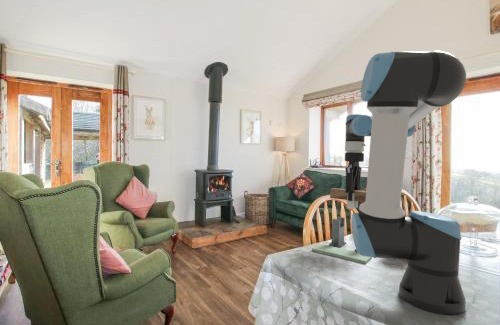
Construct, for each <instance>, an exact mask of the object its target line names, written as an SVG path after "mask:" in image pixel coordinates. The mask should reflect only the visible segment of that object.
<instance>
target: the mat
mask: <svg viewBox="0 0 500 325" xmlns="http://www.w3.org/2000/svg"><path fill="white" fill-rule="evenodd" d="M311 251H312V252H316V253H319V254H325V255H327V256H331V257H337V258H340V259H345V260H348V261H353V262H357V263H360V264H365V265H367V263H369V262H370V261H371V260H372V259H373V257H368V256H362V255H360V254H359V253H358V252H356V251H355V250H350V249H346V248H343V247H341V248H339V247H334V246H330V245H327V244H323V243H319V244H317V245H316V246H314V247H312V248H311Z"/></svg>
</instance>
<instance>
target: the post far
mask: <svg viewBox="0 0 500 325" xmlns="http://www.w3.org/2000/svg"><path fill="white" fill-rule="evenodd" d="M345 221H346V217H344V216H343V217H342V216H337V218H332V222H331V223H332V224H331V225H332V227H331V242H329V245H328V246H333V247H334V246H335V247H337V248H339V247H340V248H343V247H345V246H346V245H347V242H346V241H345V229H346V228H345V226H346V225H345V224H346V222H345ZM345 244H346V245H345ZM342 246H343V247H342Z"/></svg>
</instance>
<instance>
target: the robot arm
mask: <svg viewBox="0 0 500 325" xmlns="http://www.w3.org/2000/svg"><path fill="white" fill-rule="evenodd" d="M466 81H467V72H466V68H465V66H464V64H463V63H462V62H461V61H460V59H459V58H458V57H456V56H455V55H453V54H451V53H449V52H445V51H441V50H433V51H432V50H431V51H390V52H379V53H375V54H374V55H373V56H372V57H371V58H370V59H369V61H368V63H367V64H366V67H365V70H364V74H363V77H362V83H361V88H360V93H361V94H360V98H361V100H362V101H364V102H367V103H366V109H367V110H368V111H369V112H370V113H371V116H370V115H368V114H358V113H357V114H356V113H355V114H349V115H347V116H346V120H345V141H344V142H345V143H344V152H345V153H344V161H345V162H348V166H347V167H345V189H346V191H345V192H346V193H347V200H346V209H350V210H355V209H357V208H358V212H354V213H352V215H351V232H352V239H353V242H354V247H355V249H356V250H357V252H358V253H359V254H360V255H362V256H368V257H372V259H373V258H374V259H377V258H378V259H390V260H399V259H400V261H407V265H406V269H405V272H404V273H403V275H402V278H401V280H400V282H399V289H398V293H399V296H400V297H401V298H402V299H403V300H404V301H406V302H408V303H409V304H411V305H412V306H414V307H417V308H419V309H422V310H425V311H428V312H432V313H436V314H443V315H459V314H462V313H464V312H465V311H466V297H465V294H464V291H463V287H462V285H461V282H460V279H459V269H460V254H461V252H460V250H461V240H462V237H461V236H462V234H461V226H460V225H461V224H459V222H458V221H456V220H455V219H453V218H450V217H446V216H443V215H440V214H435V213H432V212H426V211H421V210H411V211H409V214H408V215H409V216H408V215H406V214H407V212H406V211H405V210H404V209H403V208H402V206H401V201H402V199H401V198H402V193H403V192H402V190H403V180H404V172H405V164H406V163H405V162H406V153H407V152H406V151H407V146H408V145H407V144H408V137H411V136H413V135H414V132H416V131H415V130H416V125H417V124H418V123H419V122H421V121H422V120H423V119H424V118H426V117H427V116H428V115H430V114H431V113H433V112H434V111H436V109H438V108H441V107H445V106H448V105H450V104H451V103H452V102H453V101H455V100H456V99H457V98H458V97H459V96H460V95H461V94H462V92H463V90H464V88H465V86H466V83H467V82H466ZM366 137H370V144H369V152H368V154H369V155H368V164H367V166H368V167H367V179H366V189H365V191H366V201H365V202H362V203H361V204H360V205H359V201H354V197H355V193H354V190H359V191H362V190H361V179H362V177H361V176H362V175H361V174H362V167H360V166H361V165H360V163H363V162H364V161H365V153H364V151H365V147H366V143H365V138H366Z"/></svg>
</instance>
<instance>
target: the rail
mask: <svg viewBox="0 0 500 325" xmlns="http://www.w3.org/2000/svg"><path fill="white" fill-rule="evenodd" d="M329 190H330V193H329V194H330V196H329V199H337V200H343V201H347V193H346V192H345V191H346V188H337V187H336V188H335V187H333V188H330V189H329ZM354 193H355V197H354V201H358V202H360V203H361V202H362V203H364V202H365V201H366V190H361V191H359V190H354Z"/></svg>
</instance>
